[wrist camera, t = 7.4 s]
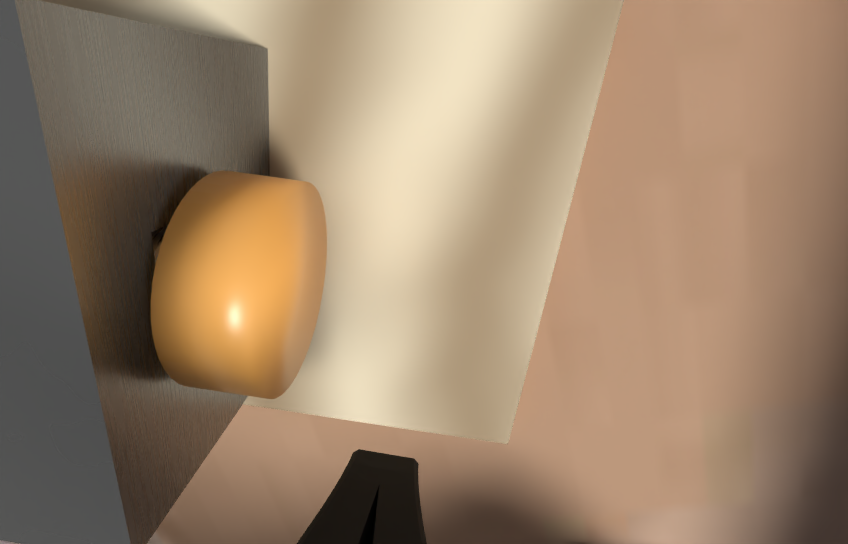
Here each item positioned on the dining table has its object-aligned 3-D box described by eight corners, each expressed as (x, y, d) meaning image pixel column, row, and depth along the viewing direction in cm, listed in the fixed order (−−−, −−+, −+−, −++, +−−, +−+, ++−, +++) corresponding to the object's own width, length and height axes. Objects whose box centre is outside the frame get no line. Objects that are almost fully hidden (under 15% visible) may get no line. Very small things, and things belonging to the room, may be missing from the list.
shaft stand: (610, 3, 10) (905, -164, 4) (504, 423, 16) (541, 689, 9) (4, -76, 11) (-806, -368, 4) (95, 361, 16) (-184, 571, 9)
